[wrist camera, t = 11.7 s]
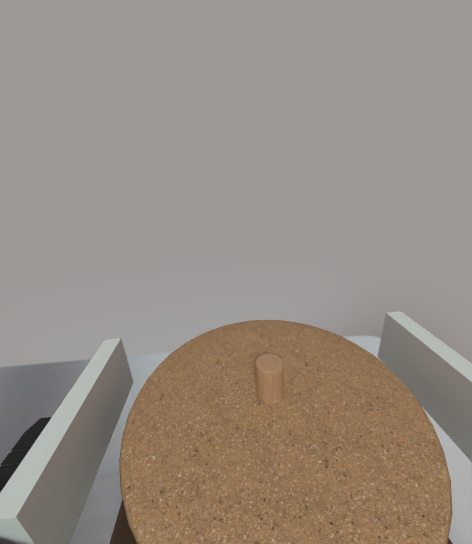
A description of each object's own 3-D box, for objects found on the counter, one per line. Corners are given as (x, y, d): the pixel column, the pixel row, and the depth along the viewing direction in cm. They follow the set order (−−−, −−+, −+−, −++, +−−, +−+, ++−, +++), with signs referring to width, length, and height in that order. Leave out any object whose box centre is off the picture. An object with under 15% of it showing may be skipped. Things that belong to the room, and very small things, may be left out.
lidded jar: (267, 387, 19) (265, 277, 16) (436, 522, 11) (506, 365, 8) (127, 499, 13) (72, 359, 10) (288, 961, 5) (310, 1127, 2)
